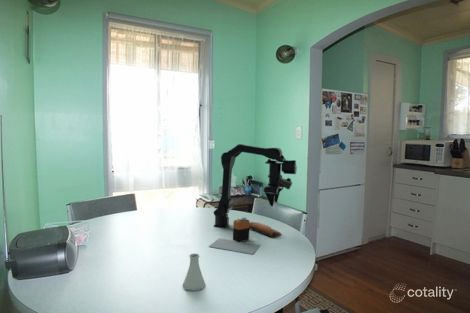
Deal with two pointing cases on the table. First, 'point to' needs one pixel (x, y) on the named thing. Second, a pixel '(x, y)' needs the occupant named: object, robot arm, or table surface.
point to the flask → (194, 275)
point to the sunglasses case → (264, 229)
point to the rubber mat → (235, 246)
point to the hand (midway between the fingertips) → (274, 204)
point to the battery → (241, 229)
